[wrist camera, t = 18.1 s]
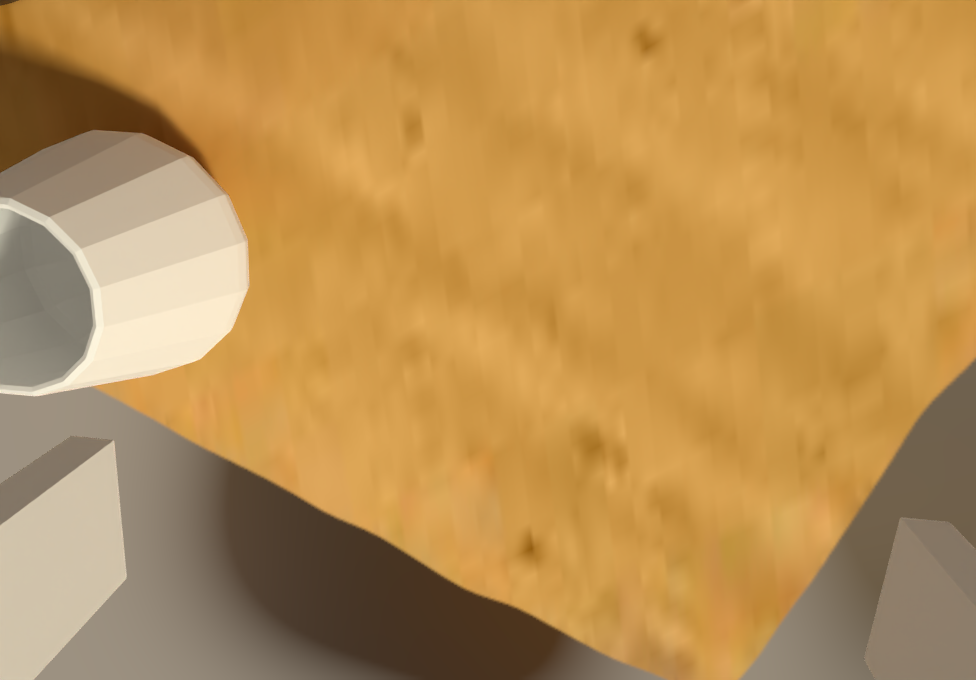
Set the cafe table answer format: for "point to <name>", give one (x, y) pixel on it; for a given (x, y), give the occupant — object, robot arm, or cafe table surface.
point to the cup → (113, 263)
